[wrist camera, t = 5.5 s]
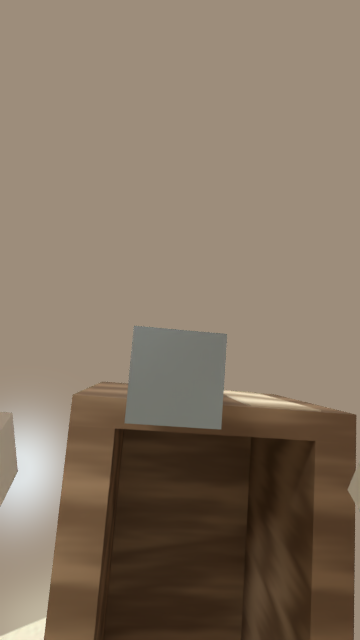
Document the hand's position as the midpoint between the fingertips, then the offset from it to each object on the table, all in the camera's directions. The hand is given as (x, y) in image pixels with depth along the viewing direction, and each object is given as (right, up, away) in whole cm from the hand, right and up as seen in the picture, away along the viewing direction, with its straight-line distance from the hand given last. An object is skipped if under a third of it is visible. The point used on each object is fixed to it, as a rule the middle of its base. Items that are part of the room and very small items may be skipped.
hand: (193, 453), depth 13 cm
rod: (-2, -1, +14) cm, 14 cm away
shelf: (-1, -32, +15) cm, 35 cm away
